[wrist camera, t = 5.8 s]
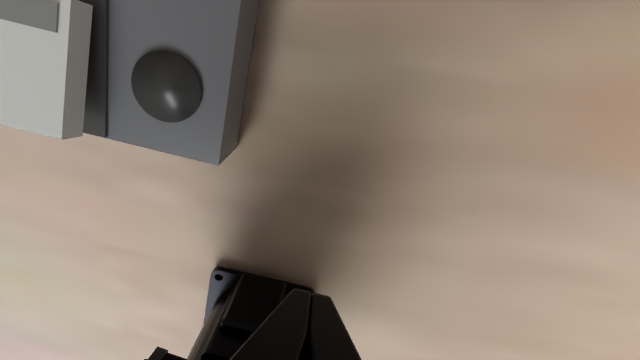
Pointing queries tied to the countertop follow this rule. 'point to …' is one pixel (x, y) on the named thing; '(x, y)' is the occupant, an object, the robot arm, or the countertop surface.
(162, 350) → the robot arm
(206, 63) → the power strip
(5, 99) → the rocker
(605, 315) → the countertop surface
